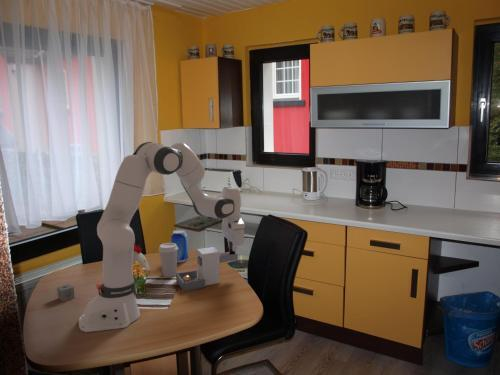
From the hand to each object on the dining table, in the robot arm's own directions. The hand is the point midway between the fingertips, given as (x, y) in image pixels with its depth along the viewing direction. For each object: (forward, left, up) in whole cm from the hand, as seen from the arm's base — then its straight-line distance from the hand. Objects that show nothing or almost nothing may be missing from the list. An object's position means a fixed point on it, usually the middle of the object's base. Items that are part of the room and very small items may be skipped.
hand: (232, 249), depth 199 cm
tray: (-21, 0, -14) cm, 25 cm away
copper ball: (-23, 0, -11) cm, 25 cm away
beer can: (-17, +34, -14) cm, 41 cm away
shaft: (-8, 0, -5) cm, 9 cm away
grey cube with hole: (-74, +9, -14) cm, 75 cm away
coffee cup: (-27, +16, -14) cm, 34 cm away
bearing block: (-12, 0, -14) cm, 18 cm away
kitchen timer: (-42, +25, -14) cm, 51 cm away
